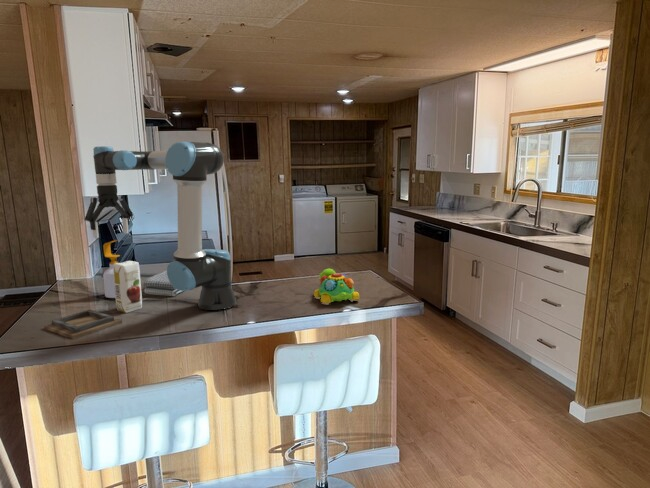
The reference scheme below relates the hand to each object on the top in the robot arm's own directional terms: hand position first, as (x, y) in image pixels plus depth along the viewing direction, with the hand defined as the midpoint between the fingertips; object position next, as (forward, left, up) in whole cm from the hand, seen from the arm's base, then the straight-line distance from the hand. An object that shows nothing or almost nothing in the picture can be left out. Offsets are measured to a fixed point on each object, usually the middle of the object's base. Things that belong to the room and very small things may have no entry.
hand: (111, 235), depth 190 cm
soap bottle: (+3, -2, -27) cm, 28 cm away
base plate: (-21, +27, -27) cm, 44 cm away
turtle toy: (-81, -47, -28) cm, 98 cm away
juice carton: (-19, +7, -27) cm, 34 cm away
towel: (-11, -19, -28) cm, 35 cm away
